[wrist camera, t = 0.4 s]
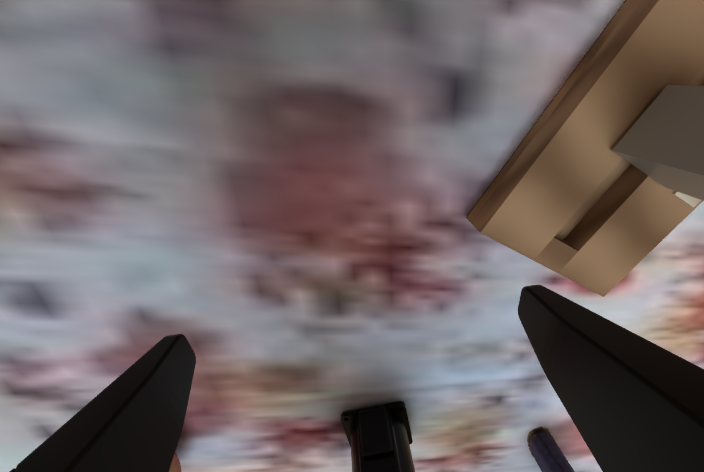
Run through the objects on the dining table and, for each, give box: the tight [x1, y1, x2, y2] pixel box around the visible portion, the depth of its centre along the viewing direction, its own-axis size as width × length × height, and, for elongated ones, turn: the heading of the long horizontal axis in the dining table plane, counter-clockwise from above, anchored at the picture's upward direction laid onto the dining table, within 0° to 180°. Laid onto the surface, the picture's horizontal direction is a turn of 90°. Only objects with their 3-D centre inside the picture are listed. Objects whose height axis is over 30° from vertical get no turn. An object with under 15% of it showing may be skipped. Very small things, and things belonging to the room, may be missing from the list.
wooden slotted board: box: [467, 0, 704, 297], centre depth 20 cm, size 22×12×3 cm, turn 152°
